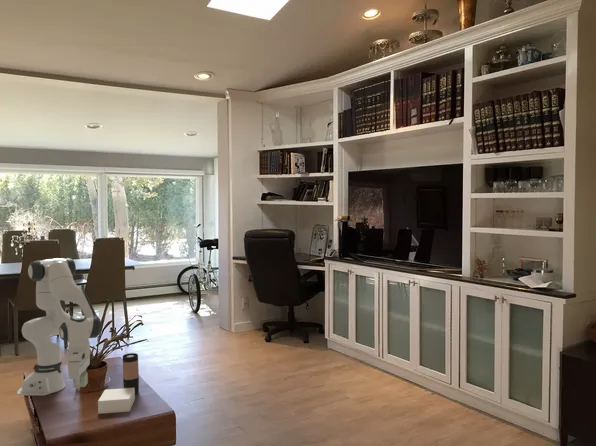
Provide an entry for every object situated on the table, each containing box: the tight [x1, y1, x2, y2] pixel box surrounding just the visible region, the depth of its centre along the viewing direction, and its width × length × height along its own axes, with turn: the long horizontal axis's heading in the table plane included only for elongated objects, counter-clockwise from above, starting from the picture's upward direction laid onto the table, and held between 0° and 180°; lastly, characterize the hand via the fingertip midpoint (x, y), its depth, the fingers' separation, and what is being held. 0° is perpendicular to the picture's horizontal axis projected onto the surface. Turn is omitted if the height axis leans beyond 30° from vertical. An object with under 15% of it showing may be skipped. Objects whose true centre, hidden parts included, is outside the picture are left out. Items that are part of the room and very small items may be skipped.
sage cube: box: [72, 371, 89, 388], centre depth 223 cm, size 5×5×5 cm
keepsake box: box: [97, 387, 136, 415], centre depth 236 cm, size 14×14×6 cm
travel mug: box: [122, 352, 140, 396], centre depth 251 cm, size 8×8×20 cm
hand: (80, 381), depth 223 cm, fingers closed on sage cube, 5 cm apart
